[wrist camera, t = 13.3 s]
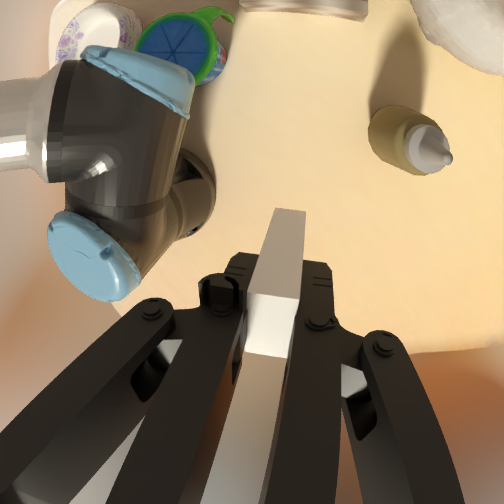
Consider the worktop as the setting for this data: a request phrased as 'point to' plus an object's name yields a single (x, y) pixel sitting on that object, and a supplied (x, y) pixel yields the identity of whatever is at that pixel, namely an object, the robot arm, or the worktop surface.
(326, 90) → the worktop surface
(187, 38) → the snack cup
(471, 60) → the ceramic pitcher
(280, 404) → the robot arm
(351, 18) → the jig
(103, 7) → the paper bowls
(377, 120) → the squeeze bottle
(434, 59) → the worktop surface
